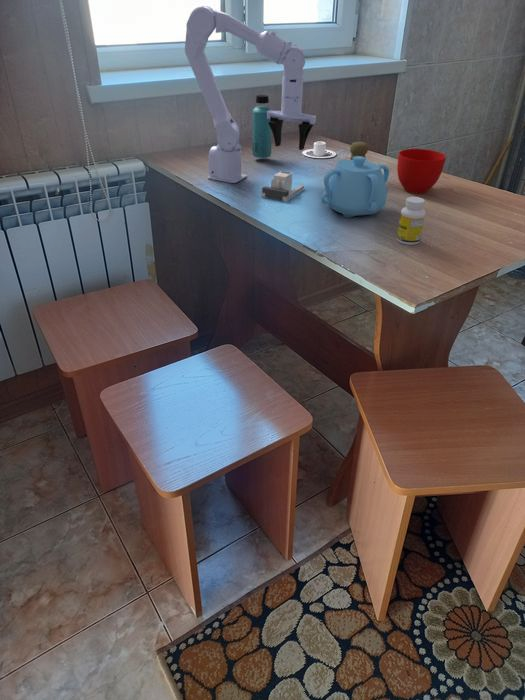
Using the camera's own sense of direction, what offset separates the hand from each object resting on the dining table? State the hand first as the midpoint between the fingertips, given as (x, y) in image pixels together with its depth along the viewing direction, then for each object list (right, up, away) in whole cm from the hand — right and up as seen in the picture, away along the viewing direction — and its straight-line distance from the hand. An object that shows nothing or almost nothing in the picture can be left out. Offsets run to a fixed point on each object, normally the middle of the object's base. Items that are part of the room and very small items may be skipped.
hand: (289, 147), depth 150 cm
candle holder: (+12, +9, +30) cm, 34 cm away
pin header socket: (-3, -15, -6) cm, 17 cm away
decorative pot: (+16, -23, -15) cm, 32 cm away
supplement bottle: (+26, -34, -31) cm, 53 cm away
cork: (+20, -8, +6) cm, 23 cm away
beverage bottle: (-8, +5, +23) cm, 25 cm away
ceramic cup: (+38, -12, +1) cm, 40 cm away
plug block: (-2, -15, -5) cm, 16 cm away
